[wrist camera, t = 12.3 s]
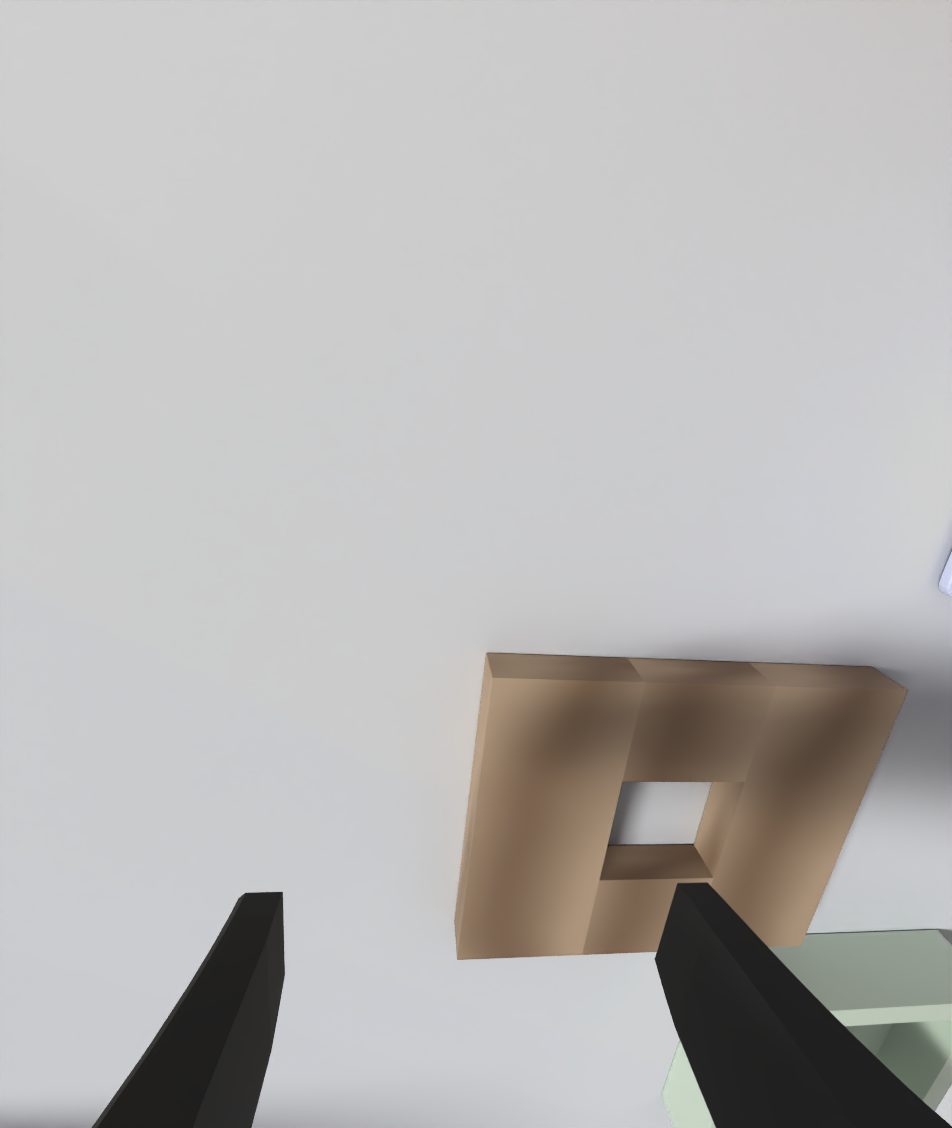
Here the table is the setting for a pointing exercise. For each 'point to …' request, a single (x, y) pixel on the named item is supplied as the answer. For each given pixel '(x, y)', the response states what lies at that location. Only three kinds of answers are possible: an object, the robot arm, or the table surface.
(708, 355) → the table surface
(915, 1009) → the tray
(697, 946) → the robot arm
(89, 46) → the table surface
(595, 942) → the tan flat square frame
